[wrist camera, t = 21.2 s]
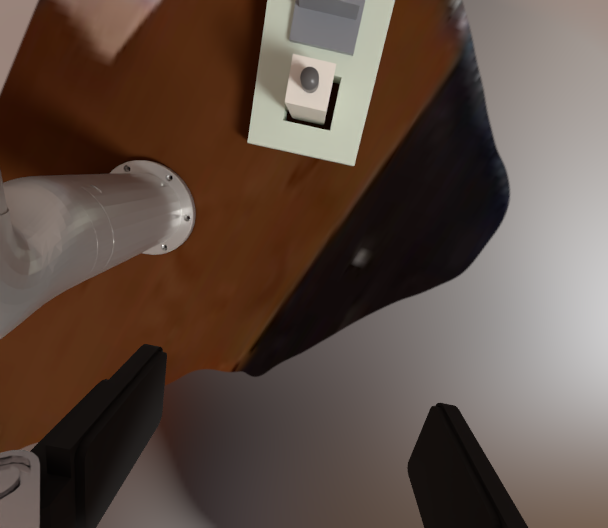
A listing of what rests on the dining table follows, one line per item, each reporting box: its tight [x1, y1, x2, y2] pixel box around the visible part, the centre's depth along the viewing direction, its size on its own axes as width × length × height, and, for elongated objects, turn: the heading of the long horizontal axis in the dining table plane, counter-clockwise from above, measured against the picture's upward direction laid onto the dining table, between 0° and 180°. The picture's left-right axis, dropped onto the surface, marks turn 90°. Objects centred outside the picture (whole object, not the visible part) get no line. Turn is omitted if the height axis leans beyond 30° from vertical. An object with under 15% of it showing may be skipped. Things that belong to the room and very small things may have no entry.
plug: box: [285, 54, 336, 125], centre depth 32 cm, size 4×4×12 cm
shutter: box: [289, 0, 365, 56], centre depth 31 cm, size 7×7×4 cm
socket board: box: [248, 0, 395, 166], centre depth 35 cm, size 13×20×3 cm, turn 168°
